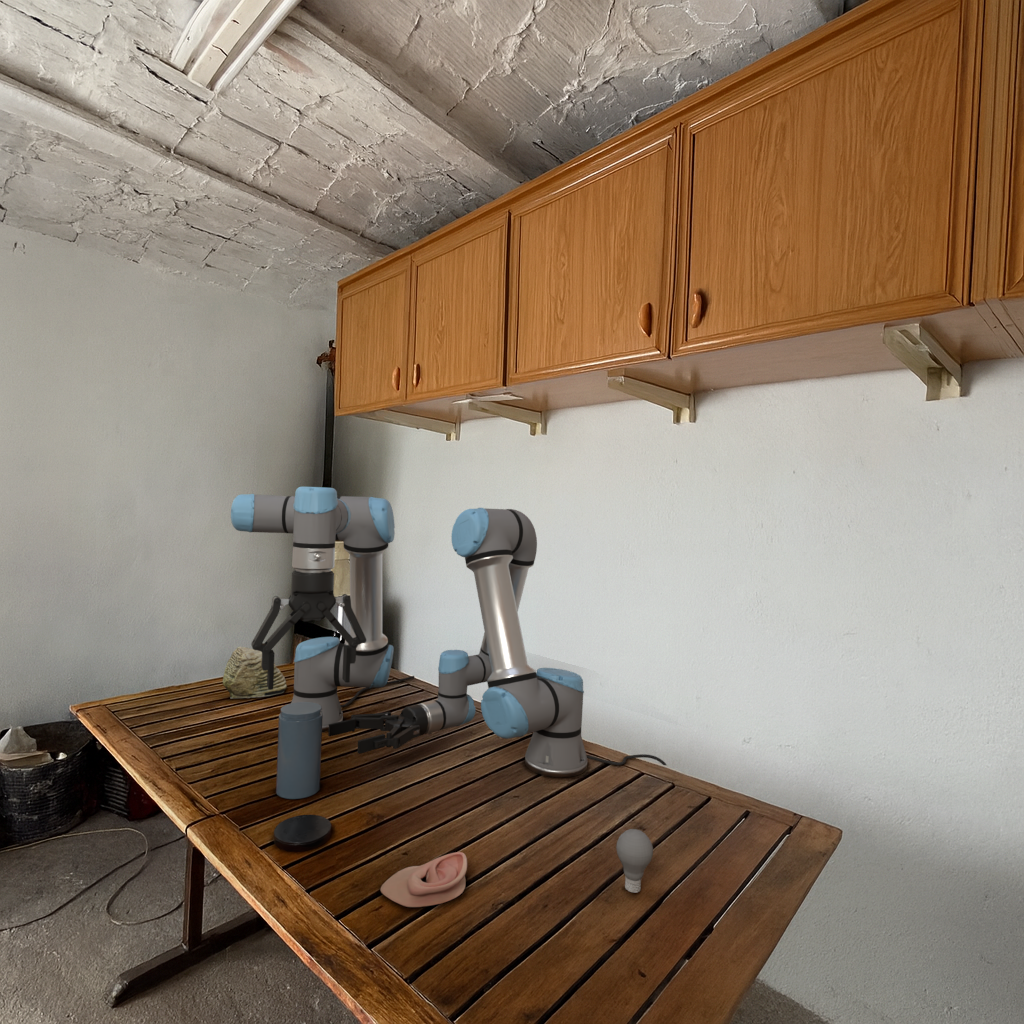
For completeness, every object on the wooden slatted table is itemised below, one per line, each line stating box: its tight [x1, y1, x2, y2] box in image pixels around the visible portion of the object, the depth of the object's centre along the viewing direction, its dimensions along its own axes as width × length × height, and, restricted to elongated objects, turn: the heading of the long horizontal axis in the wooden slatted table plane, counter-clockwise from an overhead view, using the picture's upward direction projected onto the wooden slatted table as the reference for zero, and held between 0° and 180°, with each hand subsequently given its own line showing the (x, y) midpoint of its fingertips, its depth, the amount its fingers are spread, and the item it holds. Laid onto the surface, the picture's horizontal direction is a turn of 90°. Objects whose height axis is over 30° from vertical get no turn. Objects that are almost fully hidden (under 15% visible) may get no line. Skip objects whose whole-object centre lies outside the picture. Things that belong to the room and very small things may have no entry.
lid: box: [273, 814, 332, 853], centre depth 118 cm, size 10×10×2 cm
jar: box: [275, 702, 323, 800], centre depth 137 cm, size 9×9×18 cm
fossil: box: [222, 646, 288, 699], centre depth 198 cm, size 9×18×15 cm, turn 132°
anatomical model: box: [380, 851, 468, 908], centre depth 104 cm, size 13×4×12 cm
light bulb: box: [615, 828, 654, 894], centre depth 106 cm, size 6×6×10 cm
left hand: (309, 684), depth 118 cm, fingers open, 13 cm apart
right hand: (343, 738), depth 144 cm, fingers open, 13 cm apart
